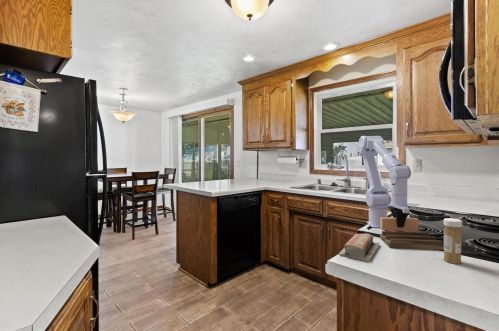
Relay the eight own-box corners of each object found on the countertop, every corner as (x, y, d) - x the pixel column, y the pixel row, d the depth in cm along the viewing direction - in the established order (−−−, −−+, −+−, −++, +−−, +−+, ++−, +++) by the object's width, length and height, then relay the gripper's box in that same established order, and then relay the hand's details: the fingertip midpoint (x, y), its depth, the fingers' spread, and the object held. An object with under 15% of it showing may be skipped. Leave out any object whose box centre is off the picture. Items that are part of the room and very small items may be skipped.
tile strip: (380, 228, 110) (380, 217, 110) (415, 229, 108) (416, 217, 107) (382, 230, 108) (382, 218, 108) (418, 231, 105) (418, 219, 105)
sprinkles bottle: (464, 265, 78) (464, 221, 78) (446, 263, 80) (446, 220, 79) (457, 259, 83) (458, 218, 82) (440, 257, 84) (441, 217, 84)
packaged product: (370, 248, 82) (338, 243, 87) (370, 263, 82) (338, 256, 88) (380, 234, 96) (352, 229, 102) (380, 246, 96) (352, 241, 102)
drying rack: (380, 238, 104) (380, 230, 104) (428, 239, 101) (428, 232, 101) (389, 247, 94) (389, 239, 94) (444, 250, 90) (444, 241, 90)
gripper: (383, 191, 115) (383, 221, 116) (395, 197, 101) (395, 231, 101) (400, 191, 114) (400, 221, 114) (415, 197, 99) (414, 231, 100)
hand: (399, 226), depth 108 cm, fingers closed on tile strip, 2 cm apart
